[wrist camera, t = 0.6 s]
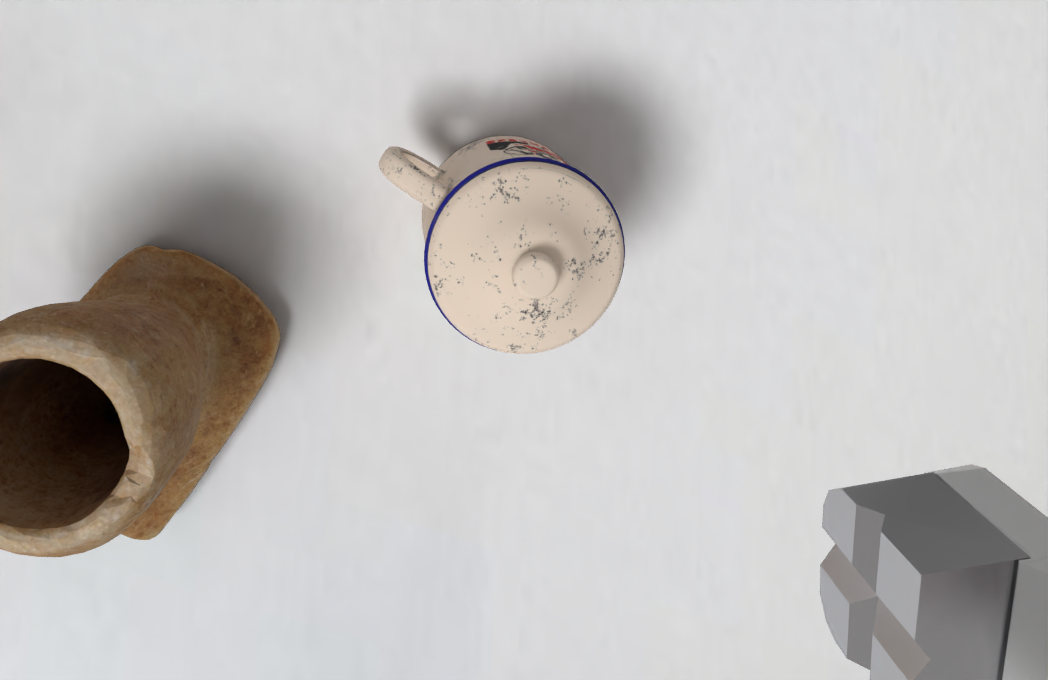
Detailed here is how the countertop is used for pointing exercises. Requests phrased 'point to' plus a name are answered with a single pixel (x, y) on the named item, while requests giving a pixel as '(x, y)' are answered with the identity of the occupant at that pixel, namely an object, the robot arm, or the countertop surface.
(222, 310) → the stone cup
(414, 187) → the teacup with lid
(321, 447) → the countertop surface
